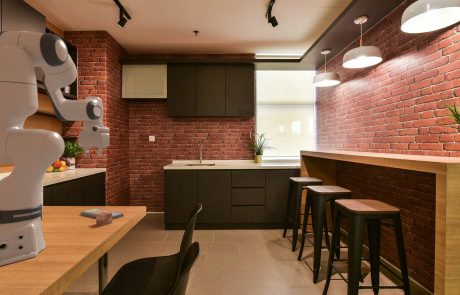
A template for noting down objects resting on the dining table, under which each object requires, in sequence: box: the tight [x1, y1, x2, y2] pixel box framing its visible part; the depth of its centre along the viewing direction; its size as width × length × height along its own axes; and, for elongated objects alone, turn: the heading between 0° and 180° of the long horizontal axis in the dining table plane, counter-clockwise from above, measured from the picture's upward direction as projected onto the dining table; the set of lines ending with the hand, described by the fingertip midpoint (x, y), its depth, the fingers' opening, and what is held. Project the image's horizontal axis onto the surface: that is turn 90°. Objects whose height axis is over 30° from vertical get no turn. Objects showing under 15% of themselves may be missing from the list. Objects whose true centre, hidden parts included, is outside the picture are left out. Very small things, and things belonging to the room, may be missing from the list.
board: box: [80, 208, 124, 220], centre depth 126 cm, size 9×20×2 cm, turn 62°
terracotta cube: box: [95, 212, 113, 226], centre depth 113 cm, size 4×4×4 cm
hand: (93, 156), depth 131 cm, fingers open, 8 cm apart
